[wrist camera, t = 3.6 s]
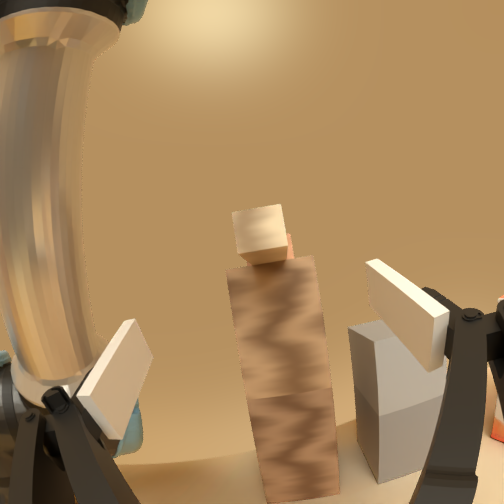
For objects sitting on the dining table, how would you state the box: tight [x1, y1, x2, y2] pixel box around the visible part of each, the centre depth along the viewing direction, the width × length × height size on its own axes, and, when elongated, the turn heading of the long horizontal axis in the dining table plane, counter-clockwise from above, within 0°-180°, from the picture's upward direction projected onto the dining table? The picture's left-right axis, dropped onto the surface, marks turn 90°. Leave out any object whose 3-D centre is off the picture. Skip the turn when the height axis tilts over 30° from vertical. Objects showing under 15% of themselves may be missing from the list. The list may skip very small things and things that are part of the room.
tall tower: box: [226, 255, 340, 503], centre depth 34 cm, size 9×13×30 cm
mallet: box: [232, 204, 294, 266], centre depth 31 cm, size 6×22×4 cm, turn 174°
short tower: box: [348, 319, 447, 484], centre depth 32 cm, size 9×13×20 cm
